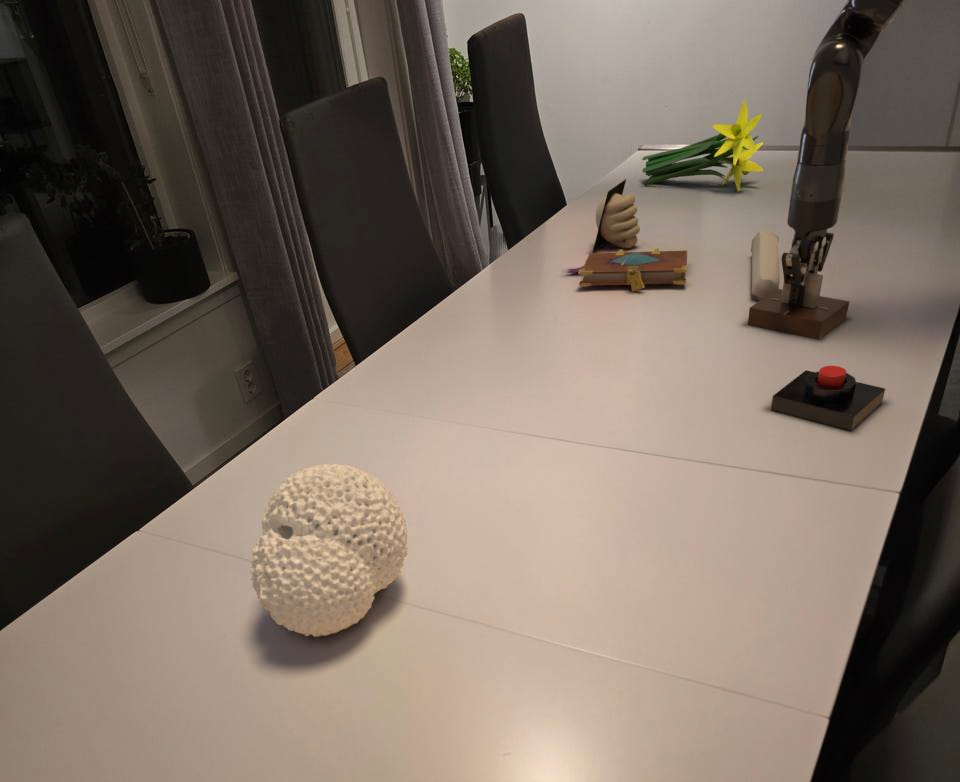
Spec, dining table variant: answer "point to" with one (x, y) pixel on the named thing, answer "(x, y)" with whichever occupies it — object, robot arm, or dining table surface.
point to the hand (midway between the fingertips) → (799, 303)
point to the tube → (765, 264)
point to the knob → (806, 291)
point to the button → (831, 376)
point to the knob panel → (798, 315)
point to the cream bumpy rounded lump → (327, 548)
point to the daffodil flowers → (710, 154)
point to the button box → (828, 400)
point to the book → (634, 268)
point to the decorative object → (617, 219)
